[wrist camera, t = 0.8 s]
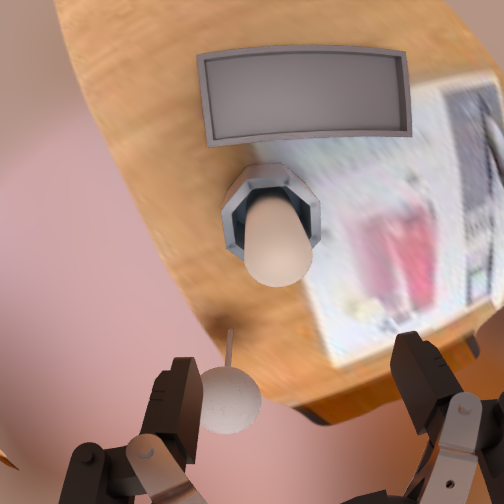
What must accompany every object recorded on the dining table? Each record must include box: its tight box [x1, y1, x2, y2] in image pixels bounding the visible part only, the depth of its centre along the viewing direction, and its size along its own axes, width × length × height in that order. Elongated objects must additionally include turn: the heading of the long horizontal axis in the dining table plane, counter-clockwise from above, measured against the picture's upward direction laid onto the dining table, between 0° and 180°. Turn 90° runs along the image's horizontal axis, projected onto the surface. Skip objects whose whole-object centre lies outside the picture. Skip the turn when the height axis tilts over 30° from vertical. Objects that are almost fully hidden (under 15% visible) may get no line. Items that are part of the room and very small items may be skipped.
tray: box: [197, 45, 412, 148], centre depth 26 cm, size 20×9×2 cm, turn 96°
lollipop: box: [200, 329, 261, 434], centre depth 32 cm, size 7×7×15 cm
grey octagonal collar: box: [221, 163, 321, 261], centre depth 28 cm, size 8×8×7 cm
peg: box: [244, 186, 313, 287], centre depth 25 cm, size 4×4×12 cm
